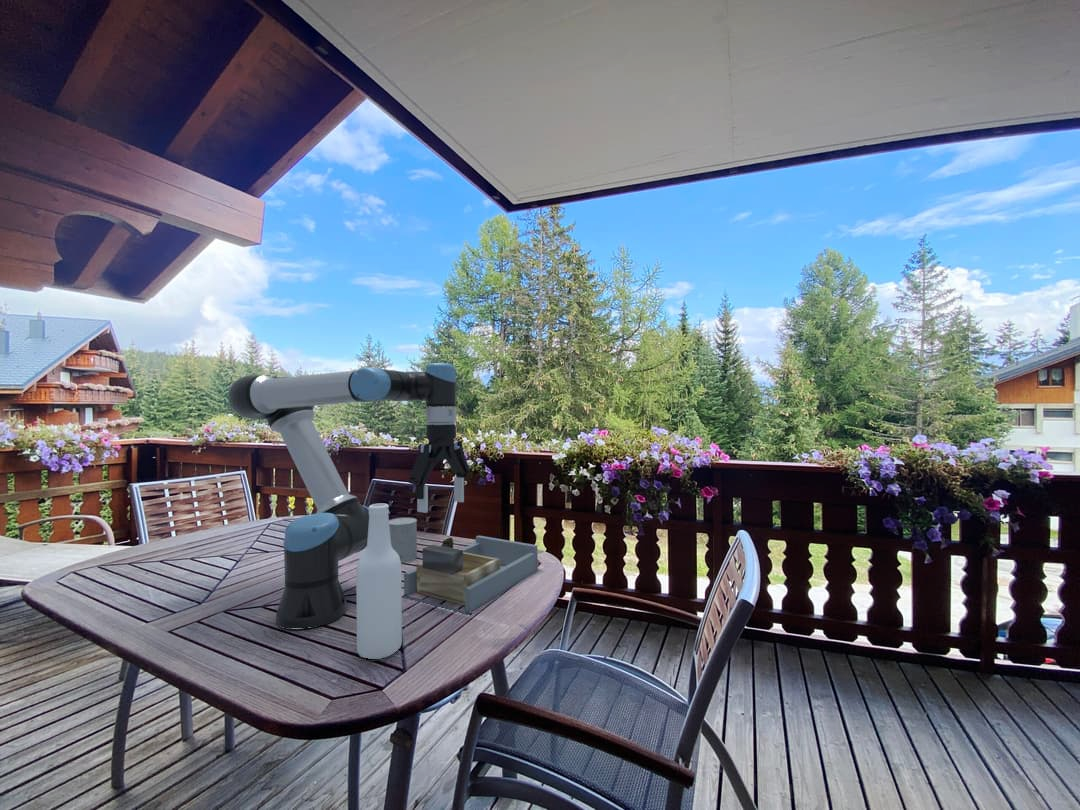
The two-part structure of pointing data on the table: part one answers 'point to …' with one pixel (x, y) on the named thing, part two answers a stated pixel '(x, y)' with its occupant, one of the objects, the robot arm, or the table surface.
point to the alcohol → (379, 590)
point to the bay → (517, 567)
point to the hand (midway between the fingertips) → (441, 506)
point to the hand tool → (448, 543)
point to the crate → (451, 572)
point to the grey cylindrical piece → (404, 537)
